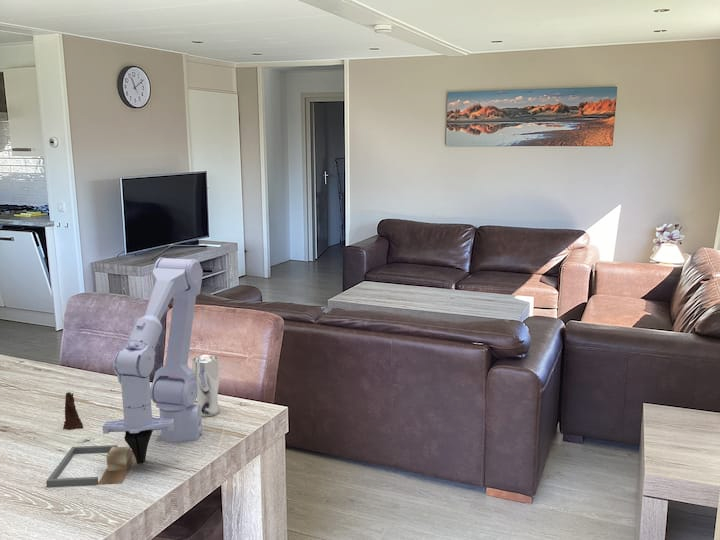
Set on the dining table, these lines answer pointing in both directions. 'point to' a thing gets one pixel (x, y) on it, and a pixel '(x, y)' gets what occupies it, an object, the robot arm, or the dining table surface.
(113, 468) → the birch block
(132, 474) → the dining table surface
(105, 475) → the walnut board
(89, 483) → the box
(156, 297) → the robot arm
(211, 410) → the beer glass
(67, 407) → the chess piece
